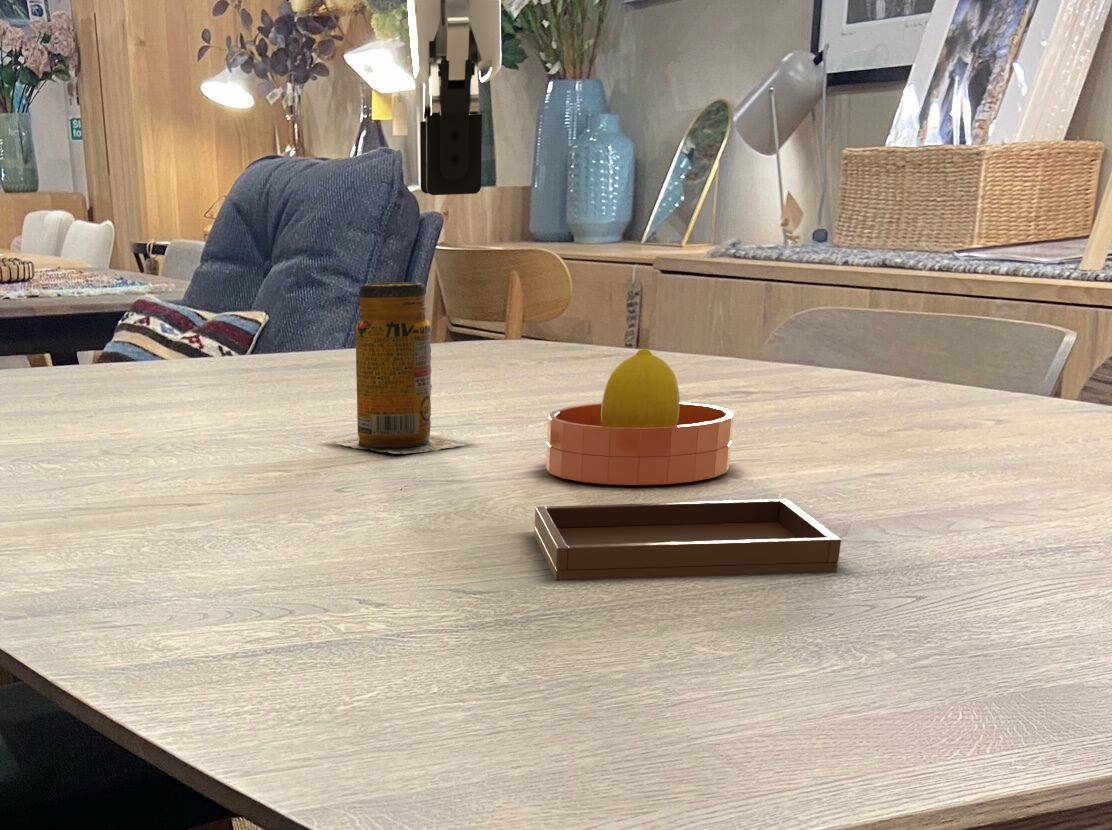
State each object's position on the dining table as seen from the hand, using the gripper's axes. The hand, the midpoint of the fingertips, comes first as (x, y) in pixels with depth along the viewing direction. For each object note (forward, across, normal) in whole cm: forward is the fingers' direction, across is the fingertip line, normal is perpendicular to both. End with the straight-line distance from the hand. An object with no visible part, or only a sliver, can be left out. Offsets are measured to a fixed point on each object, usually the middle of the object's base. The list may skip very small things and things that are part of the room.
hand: (449, 193), depth 90 cm
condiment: (+18, +23, +3) cm, 30 cm away
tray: (+18, -18, -12) cm, 28 cm away
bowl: (+18, +8, -14) cm, 24 cm away
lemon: (+18, +8, -14) cm, 24 cm away
